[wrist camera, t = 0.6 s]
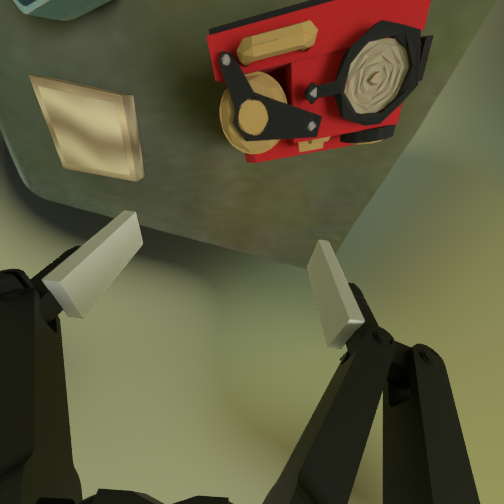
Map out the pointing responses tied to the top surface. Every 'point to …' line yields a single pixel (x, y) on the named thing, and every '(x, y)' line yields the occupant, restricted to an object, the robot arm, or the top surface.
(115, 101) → the oak stand
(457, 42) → the top surface
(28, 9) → the flower pot
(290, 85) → the red mechanical box
